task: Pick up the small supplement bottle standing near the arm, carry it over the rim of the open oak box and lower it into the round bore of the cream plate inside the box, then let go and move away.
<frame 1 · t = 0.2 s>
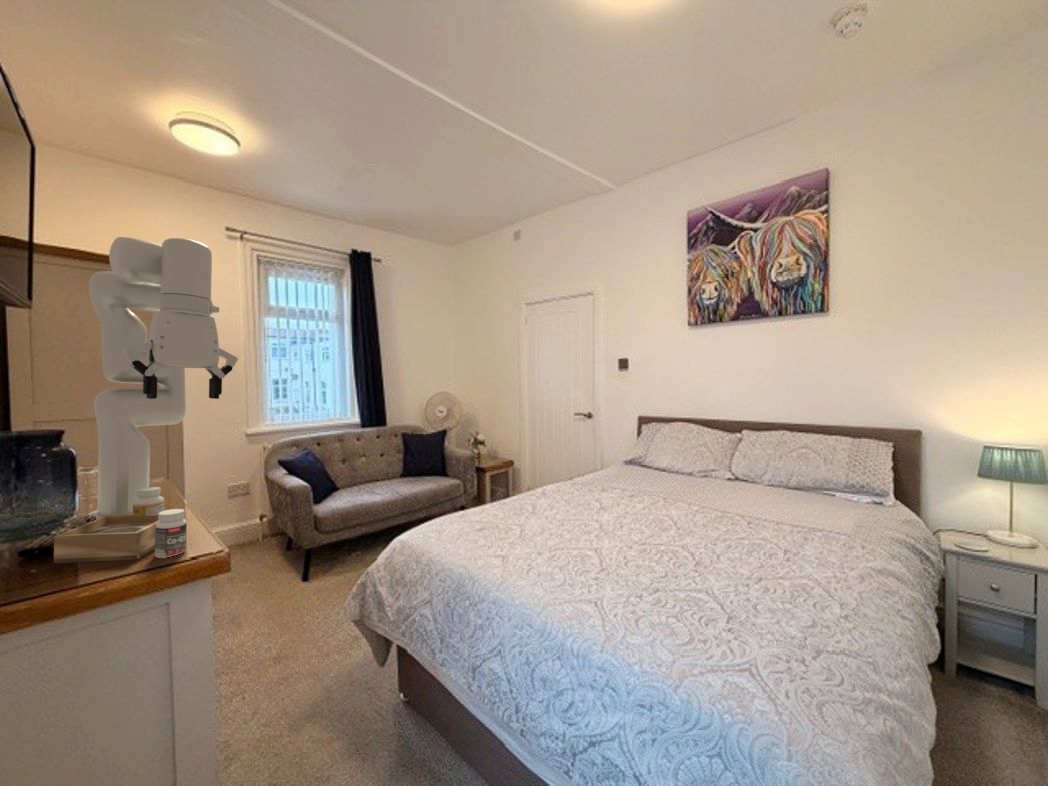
hand: (184, 398, 82), 31 cm above the table, tool pointing down, fingers open, 9 cm apart
supplement bottle: (148, 532, 98), on the table
oak box: (120, 548, 87), on the table
pill bottle: (170, 555, 85), on the table
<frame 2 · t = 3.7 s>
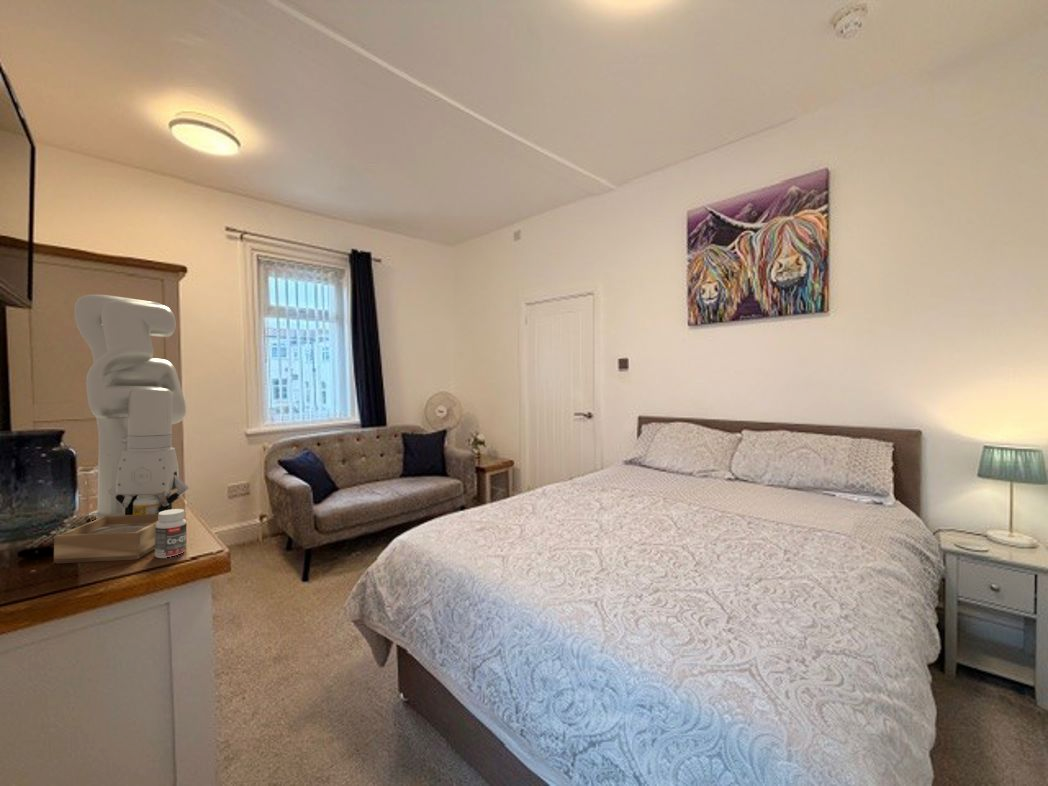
hand: (148, 522, 98), 2 cm above the table, tool pointing down, fingers closed on supplement bottle, 5 cm apart
supplement bottle: (148, 532, 98), on the table, touching gripper
everything else where it was.
when the fingers open (4 cm above the table, at t = 8.1 s): supplement bottle drops 1 cm, resting on oak box.
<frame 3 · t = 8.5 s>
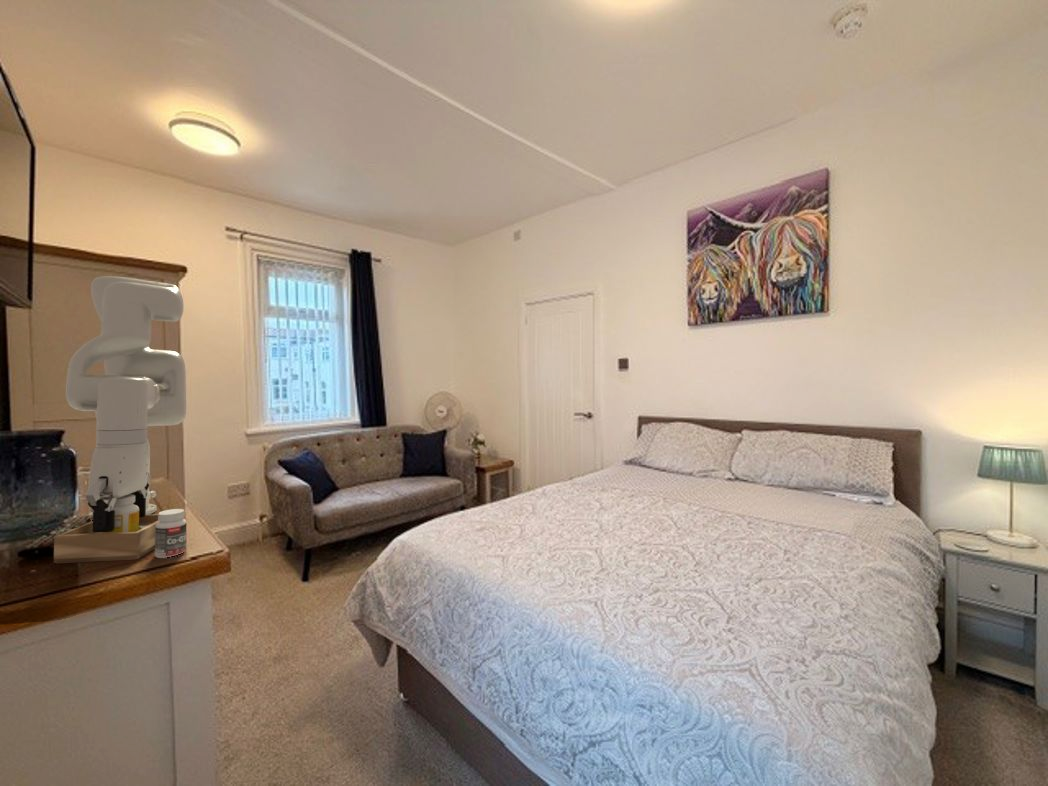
hand: (120, 523, 87), 5 cm above the table, tool pointing down, fingers open, 9 cm apart
supplement bottle: (120, 545, 87), point 1 cm above the table, touching oak box
everything else where it was.
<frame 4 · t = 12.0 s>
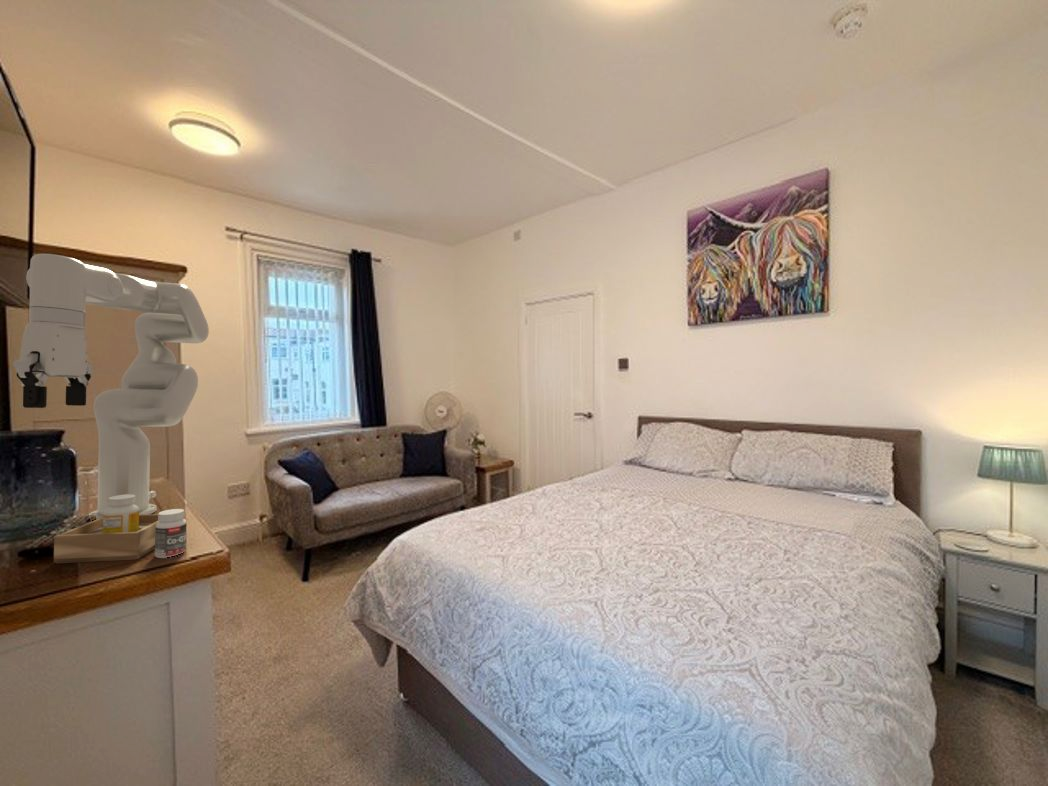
hand: (56, 406, 86), 28 cm above the table, tool pointing down, fingers open, 9 cm apart
nothing on the table moved.
at the end: supplement bottle 0.3 cm from the oak box (horizontally); supplement bottle point 0.6 cm above the table; supplement bottle tilted 0° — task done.
